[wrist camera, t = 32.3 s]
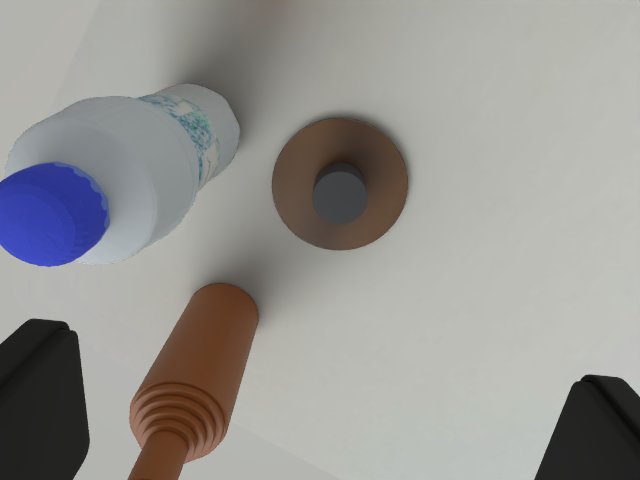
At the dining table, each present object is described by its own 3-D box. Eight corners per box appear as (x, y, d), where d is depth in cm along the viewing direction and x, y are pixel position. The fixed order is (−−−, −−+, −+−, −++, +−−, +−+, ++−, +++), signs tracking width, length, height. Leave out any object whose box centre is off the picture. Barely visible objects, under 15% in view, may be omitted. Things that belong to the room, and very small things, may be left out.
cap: (370, 167, 33) (373, 177, 30) (358, 215, 34) (360, 228, 32) (319, 157, 33) (317, 166, 30) (309, 206, 34) (307, 219, 31)
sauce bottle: (189, 340, 40) (90, 539, 24) (186, 280, 37) (74, 454, 21) (257, 346, 40) (205, 548, 24) (259, 285, 37) (201, 463, 21)
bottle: (209, 191, 34) (64, 354, 16) (136, 130, 33) (-120, 232, 14) (266, 125, 32) (175, 224, 14) (191, 56, 31) (-25, 65, 12)
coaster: (269, 241, 36) (268, 243, 35) (276, 110, 32) (275, 111, 31) (395, 253, 36) (396, 256, 35) (417, 125, 32) (419, 126, 32)
